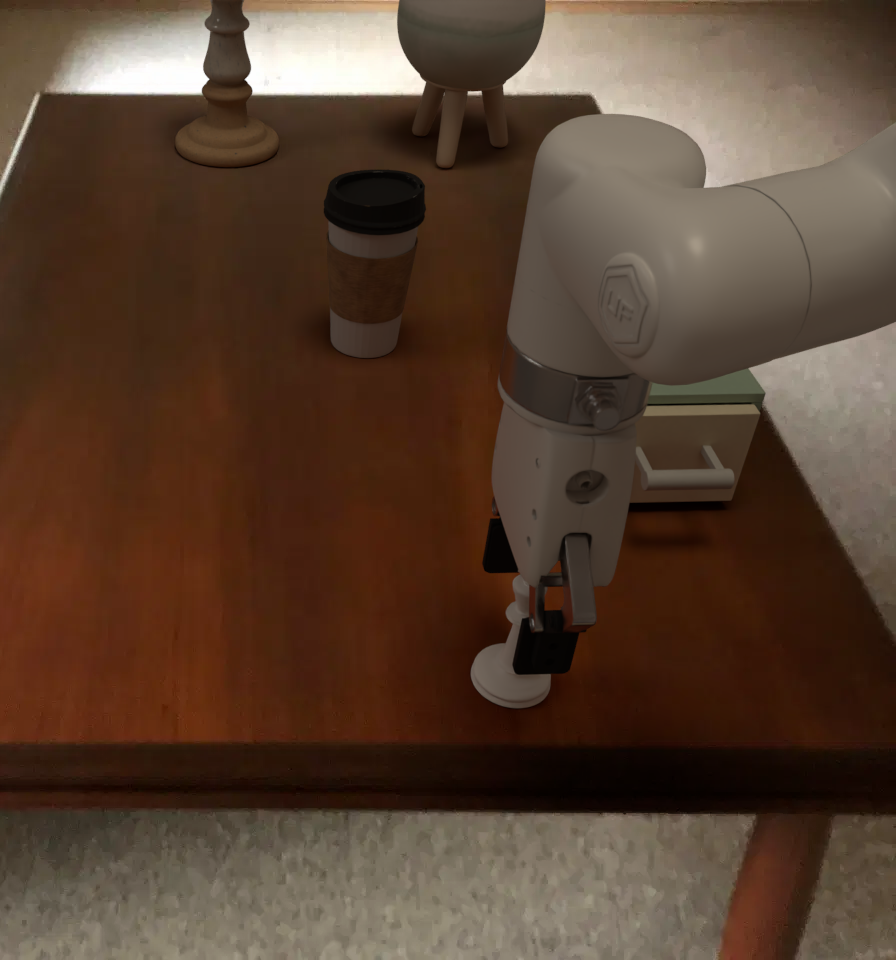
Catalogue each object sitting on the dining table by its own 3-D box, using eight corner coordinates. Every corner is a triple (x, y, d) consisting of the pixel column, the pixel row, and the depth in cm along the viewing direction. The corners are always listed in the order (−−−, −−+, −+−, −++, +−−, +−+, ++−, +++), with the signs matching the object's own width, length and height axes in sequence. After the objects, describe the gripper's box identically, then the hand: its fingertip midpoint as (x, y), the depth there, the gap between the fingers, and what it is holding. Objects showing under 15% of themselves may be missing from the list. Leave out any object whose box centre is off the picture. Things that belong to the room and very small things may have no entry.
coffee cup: (408, 370, 102) (426, 208, 92) (311, 361, 103) (319, 200, 93) (413, 321, 108) (430, 166, 99) (321, 313, 109) (330, 158, 100)
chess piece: (545, 717, 71) (575, 596, 65) (464, 697, 72) (485, 577, 66) (554, 660, 75) (583, 541, 69) (477, 642, 76) (499, 523, 70)
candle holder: (153, 150, 139) (146, -30, 126) (219, 120, 147) (218, -53, 134) (236, 177, 133) (236, -9, 121) (299, 144, 141) (306, -34, 128)
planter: (543, 142, 142) (576, -56, 129) (489, 188, 132) (520, -22, 118) (422, 114, 149) (441, -77, 135) (362, 156, 138) (377, -46, 125)
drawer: (753, 538, 83) (785, 449, 78) (594, 541, 83) (616, 452, 78) (671, 398, 97) (694, 315, 92) (535, 400, 97) (551, 317, 92)
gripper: (709, 472, 53) (628, 730, 64) (601, 284, 67) (549, 522, 77) (544, 475, 53) (490, 734, 63) (469, 286, 66) (436, 525, 77)
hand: (523, 616), depth 70 cm, fingers open, 7 cm apart
